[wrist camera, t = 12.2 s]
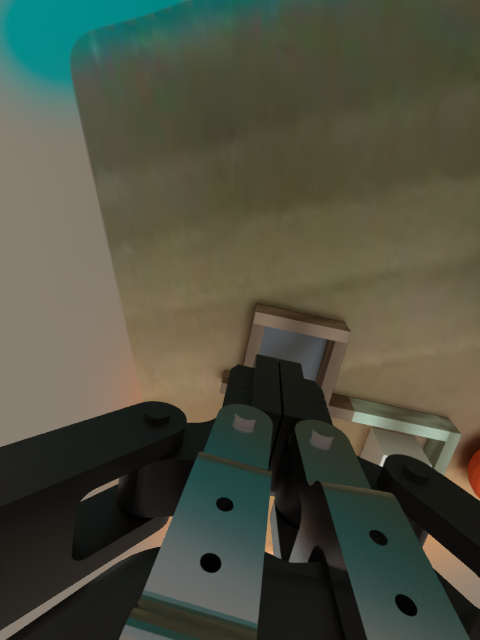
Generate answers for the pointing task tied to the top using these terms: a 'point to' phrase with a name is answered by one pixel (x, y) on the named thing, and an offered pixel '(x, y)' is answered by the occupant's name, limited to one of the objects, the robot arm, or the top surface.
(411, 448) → the cream block
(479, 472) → the clementine
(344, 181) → the top surface
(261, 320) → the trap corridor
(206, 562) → the robot arm
